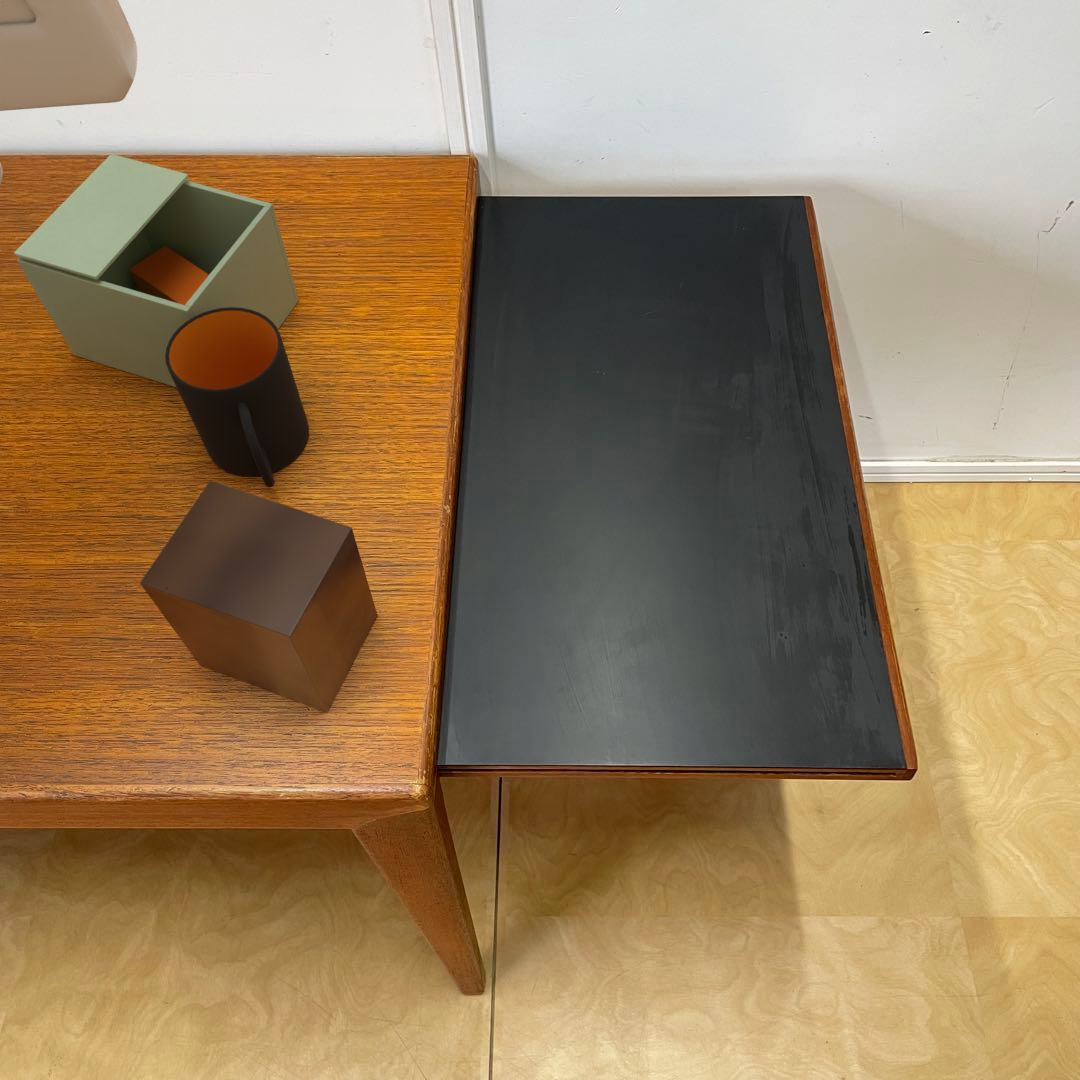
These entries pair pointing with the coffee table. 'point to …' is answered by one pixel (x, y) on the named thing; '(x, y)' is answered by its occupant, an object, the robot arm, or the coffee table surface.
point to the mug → (239, 391)
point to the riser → (265, 594)
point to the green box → (149, 322)
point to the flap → (102, 216)
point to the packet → (168, 276)
